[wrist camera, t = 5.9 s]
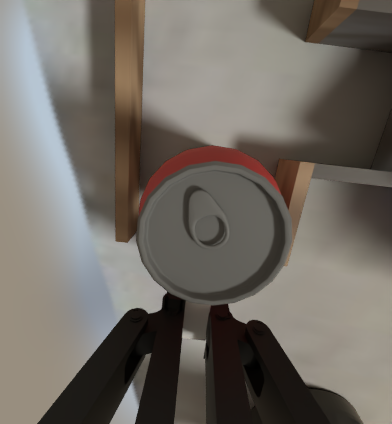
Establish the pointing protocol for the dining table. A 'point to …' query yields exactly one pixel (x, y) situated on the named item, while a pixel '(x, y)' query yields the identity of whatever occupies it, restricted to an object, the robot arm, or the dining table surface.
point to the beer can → (213, 226)
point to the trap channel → (287, 169)
